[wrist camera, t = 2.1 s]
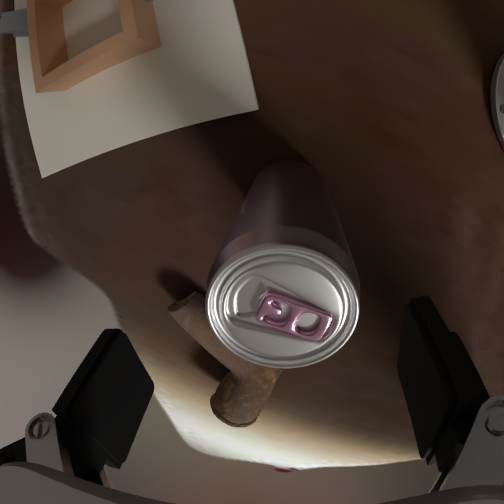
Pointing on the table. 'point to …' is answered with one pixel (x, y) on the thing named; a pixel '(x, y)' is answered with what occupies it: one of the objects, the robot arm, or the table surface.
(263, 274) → the beverage can
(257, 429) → the table surface
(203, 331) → the pipe
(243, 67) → the white board with box
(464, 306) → the table surface
